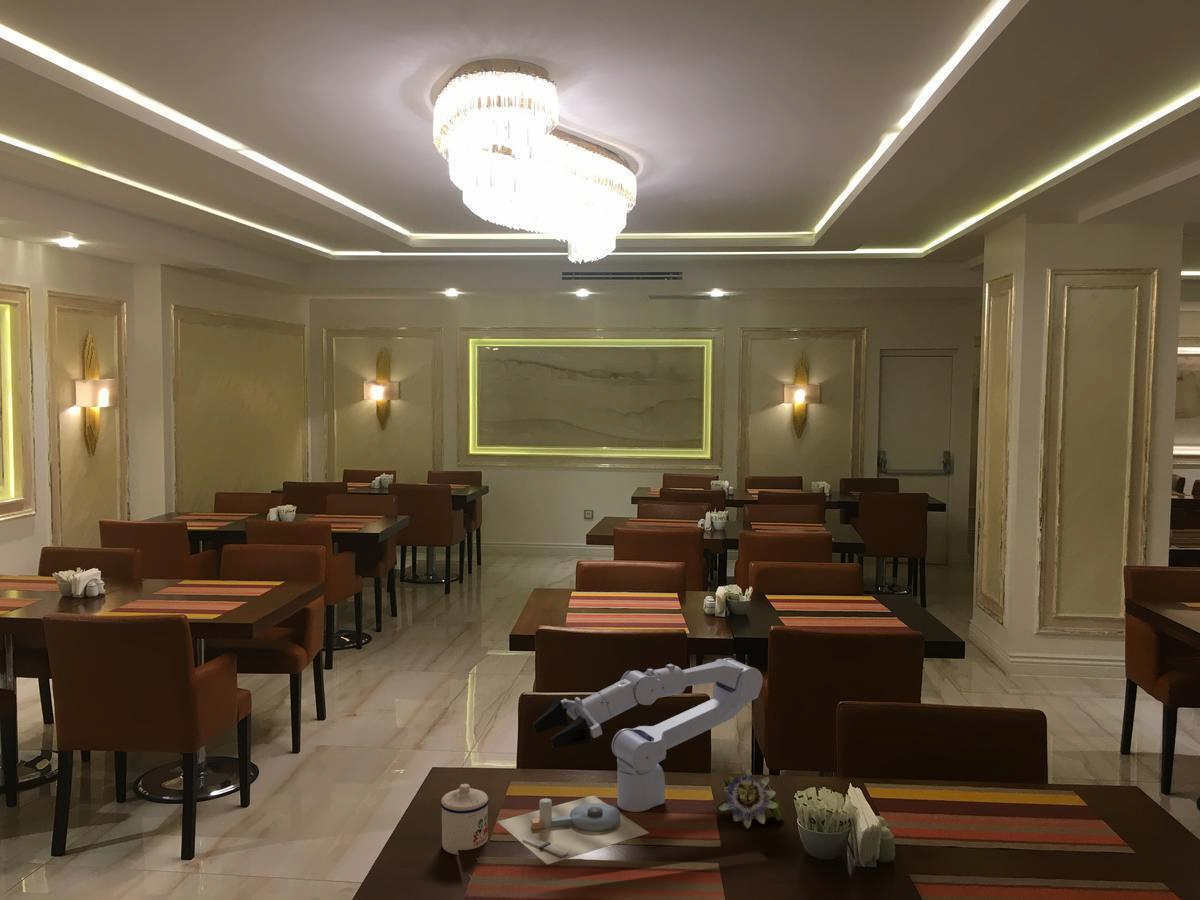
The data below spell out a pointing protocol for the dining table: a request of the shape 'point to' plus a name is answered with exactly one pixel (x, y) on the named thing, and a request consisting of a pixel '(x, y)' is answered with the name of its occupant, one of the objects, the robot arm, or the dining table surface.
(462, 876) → the dining table surface
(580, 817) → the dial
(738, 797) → the passion flower
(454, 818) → the teacup with lid
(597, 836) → the cream flat board
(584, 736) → the robot arm
